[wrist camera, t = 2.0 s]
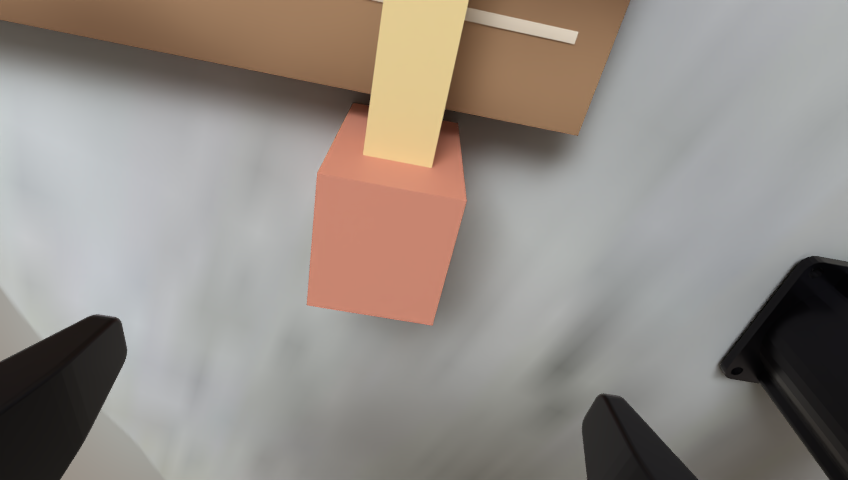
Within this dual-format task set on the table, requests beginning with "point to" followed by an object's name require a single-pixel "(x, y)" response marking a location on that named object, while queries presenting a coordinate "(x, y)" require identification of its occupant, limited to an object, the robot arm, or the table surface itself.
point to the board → (369, 45)
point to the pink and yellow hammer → (394, 176)
